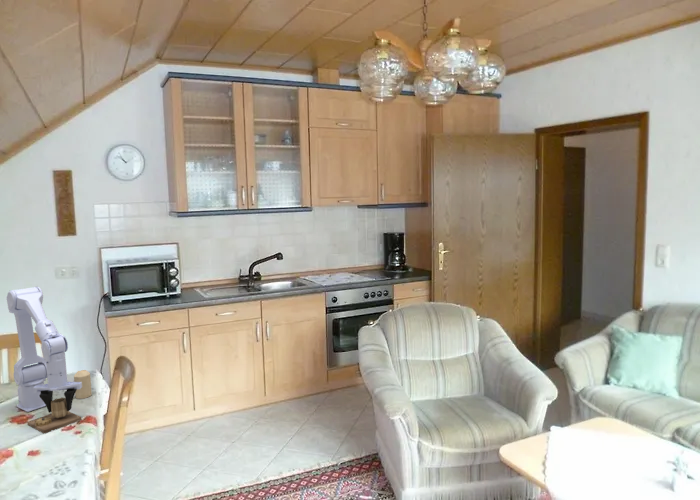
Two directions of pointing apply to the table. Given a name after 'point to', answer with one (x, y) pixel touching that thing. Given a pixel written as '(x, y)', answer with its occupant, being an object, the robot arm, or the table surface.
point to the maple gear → (59, 407)
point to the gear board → (53, 422)
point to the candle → (83, 384)
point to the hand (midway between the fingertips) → (60, 410)
